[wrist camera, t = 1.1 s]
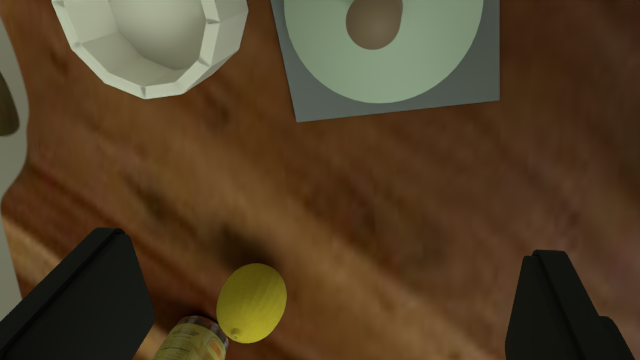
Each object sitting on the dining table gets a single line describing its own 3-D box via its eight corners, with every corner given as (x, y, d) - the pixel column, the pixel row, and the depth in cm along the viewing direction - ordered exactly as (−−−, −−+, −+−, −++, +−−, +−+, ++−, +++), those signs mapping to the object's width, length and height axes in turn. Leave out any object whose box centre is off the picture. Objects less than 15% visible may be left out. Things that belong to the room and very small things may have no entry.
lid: (479, -132, 24) (497, -151, 18) (483, 87, 29) (498, 119, 24) (268, -82, 27) (233, -87, 21) (307, 108, 32) (286, 141, 27)
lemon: (229, 248, 40) (190, 312, 33) (286, 242, 39) (258, 308, 32) (248, 294, 43) (216, 363, 36) (302, 291, 41) (279, 362, 34)
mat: (498, -158, 23) (499, -159, 23) (498, 98, 29) (499, 100, 29) (251, -97, 27) (249, -98, 26) (298, 120, 33) (296, 122, 33)
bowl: (221, -104, 27) (184, -112, 23) (262, 66, 32) (237, 86, 27) (79, -68, 30) (21, -69, 25) (136, 84, 34) (95, 105, 30)
